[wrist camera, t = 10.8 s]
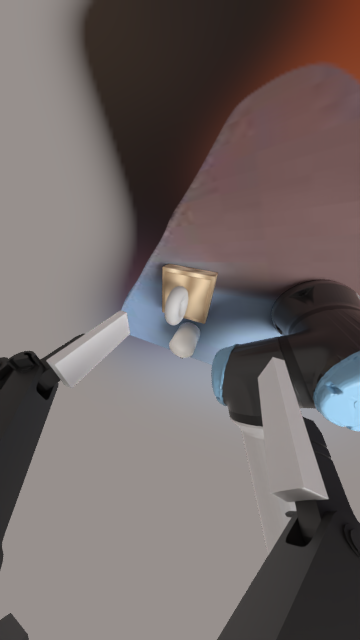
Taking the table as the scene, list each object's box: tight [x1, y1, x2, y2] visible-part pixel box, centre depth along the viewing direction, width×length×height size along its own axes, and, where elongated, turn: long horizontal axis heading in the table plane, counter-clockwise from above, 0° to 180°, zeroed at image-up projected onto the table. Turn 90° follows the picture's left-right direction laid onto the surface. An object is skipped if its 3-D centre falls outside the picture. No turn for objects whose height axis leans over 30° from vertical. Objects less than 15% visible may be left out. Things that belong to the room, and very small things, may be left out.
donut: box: [165, 286, 188, 325], centre depth 34 cm, size 10×4×10 cm, turn 175°
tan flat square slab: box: [162, 264, 218, 324], centre depth 40 cm, size 14×14×4 cm
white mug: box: [169, 322, 200, 358], centre depth 47 cm, size 8×11×9 cm
